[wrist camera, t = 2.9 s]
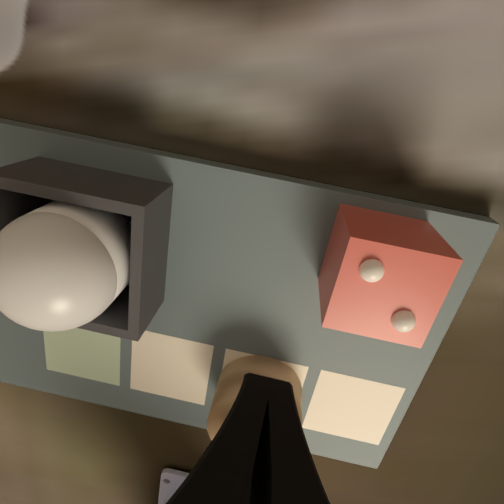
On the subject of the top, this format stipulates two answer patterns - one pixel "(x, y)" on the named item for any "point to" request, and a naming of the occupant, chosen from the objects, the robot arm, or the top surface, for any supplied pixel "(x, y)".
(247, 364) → the pawn
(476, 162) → the top surface
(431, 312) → the die
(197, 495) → the robot arm
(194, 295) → the board
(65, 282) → the dome
